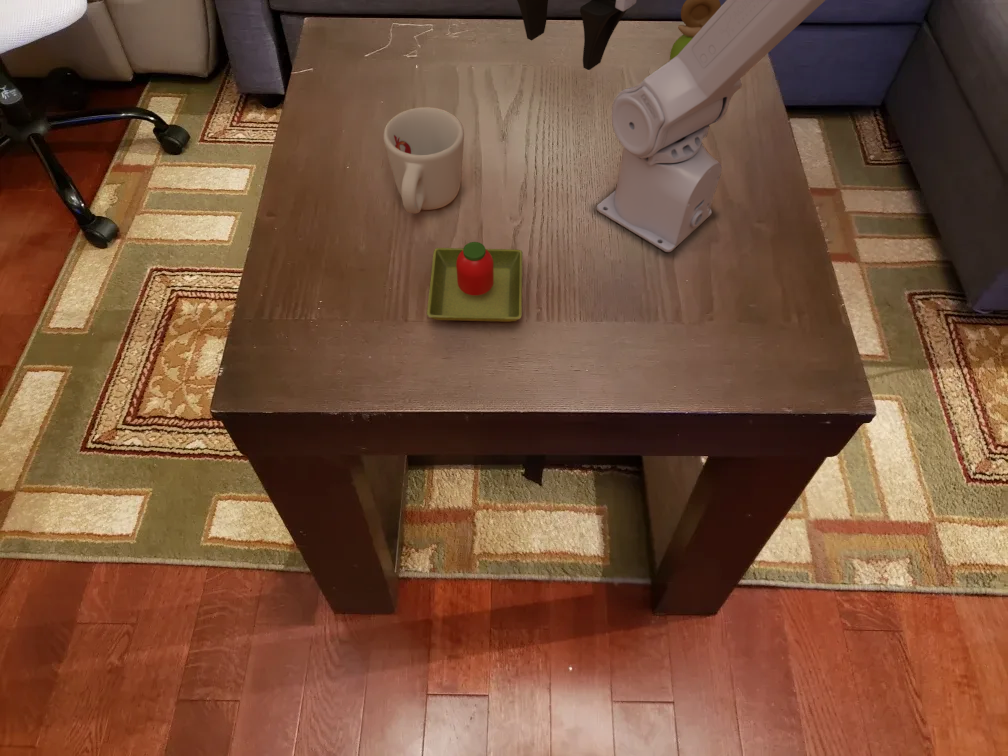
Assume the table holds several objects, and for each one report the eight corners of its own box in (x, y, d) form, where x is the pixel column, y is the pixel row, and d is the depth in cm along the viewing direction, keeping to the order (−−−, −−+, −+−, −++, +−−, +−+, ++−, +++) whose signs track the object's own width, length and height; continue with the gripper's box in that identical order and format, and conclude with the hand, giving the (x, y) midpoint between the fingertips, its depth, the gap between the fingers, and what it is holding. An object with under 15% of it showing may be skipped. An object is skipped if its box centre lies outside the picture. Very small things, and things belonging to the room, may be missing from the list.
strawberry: (492, 267, 71) (492, 235, 67) (494, 294, 69) (494, 262, 65) (456, 269, 70) (454, 237, 67) (458, 296, 69) (456, 264, 65)
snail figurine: (721, 89, 90) (748, -9, 80) (668, 89, 90) (689, -9, 80) (714, 63, 93) (740, -34, 83) (663, 63, 93) (683, -35, 83)
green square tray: (521, 332, 69) (521, 318, 67) (427, 330, 69) (426, 316, 67) (522, 263, 74) (522, 249, 72) (435, 261, 74) (433, 247, 72)
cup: (450, 243, 75) (446, 182, 69) (375, 232, 76) (363, 170, 69) (474, 174, 81) (472, 111, 75) (404, 164, 82) (395, 101, 75)
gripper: (484, -104, 66) (485, 38, 78) (612, -48, 61) (594, 96, 72) (535, -129, 69) (530, 11, 81) (662, -78, 64) (637, 65, 75)
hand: (563, 50), depth 77 cm, fingers open, 7 cm apart
